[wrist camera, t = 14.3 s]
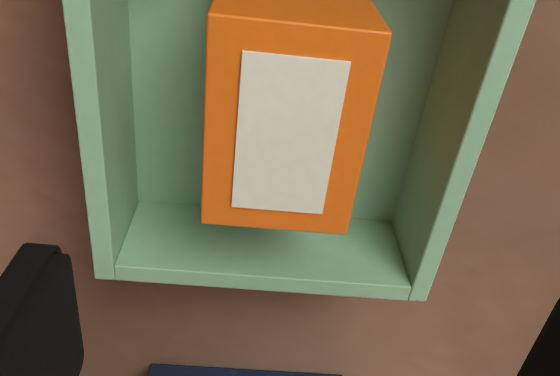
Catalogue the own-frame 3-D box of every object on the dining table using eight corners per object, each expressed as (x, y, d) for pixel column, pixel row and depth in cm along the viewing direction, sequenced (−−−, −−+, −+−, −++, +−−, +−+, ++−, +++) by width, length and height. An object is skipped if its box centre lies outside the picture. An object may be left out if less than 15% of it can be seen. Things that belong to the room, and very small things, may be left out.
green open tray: (505, -140, 18) (587, -135, 13) (399, 222, 26) (425, 302, 22) (101, -194, 17) (36, -209, 12) (127, 200, 25) (94, 279, 21)
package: (361, -17, 19) (394, 33, 14) (330, 150, 23) (347, 238, 18) (224, -32, 19) (205, 13, 13) (216, 140, 22) (199, 226, 17)
